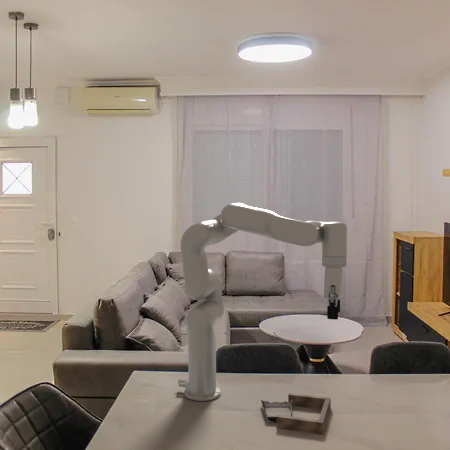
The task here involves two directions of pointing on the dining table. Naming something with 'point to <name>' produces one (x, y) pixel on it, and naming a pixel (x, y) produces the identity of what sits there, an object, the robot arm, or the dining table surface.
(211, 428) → the dining table surface
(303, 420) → the frame
